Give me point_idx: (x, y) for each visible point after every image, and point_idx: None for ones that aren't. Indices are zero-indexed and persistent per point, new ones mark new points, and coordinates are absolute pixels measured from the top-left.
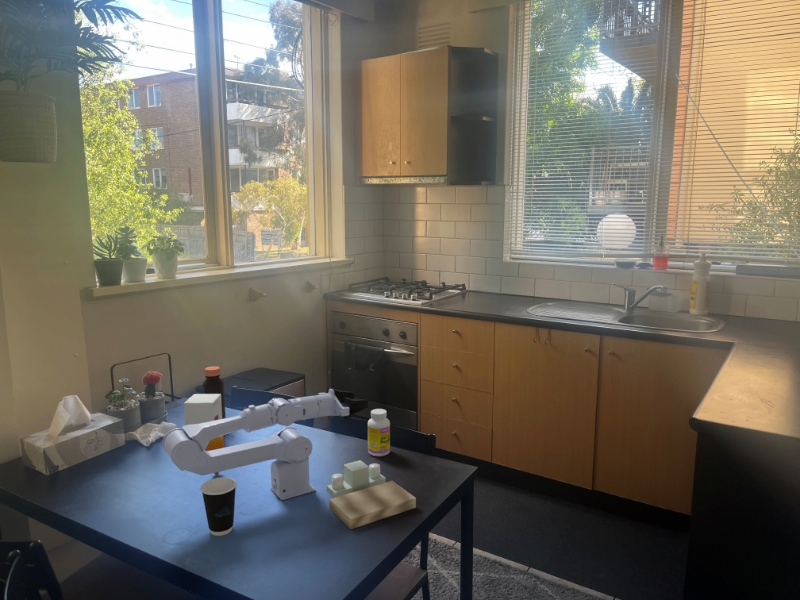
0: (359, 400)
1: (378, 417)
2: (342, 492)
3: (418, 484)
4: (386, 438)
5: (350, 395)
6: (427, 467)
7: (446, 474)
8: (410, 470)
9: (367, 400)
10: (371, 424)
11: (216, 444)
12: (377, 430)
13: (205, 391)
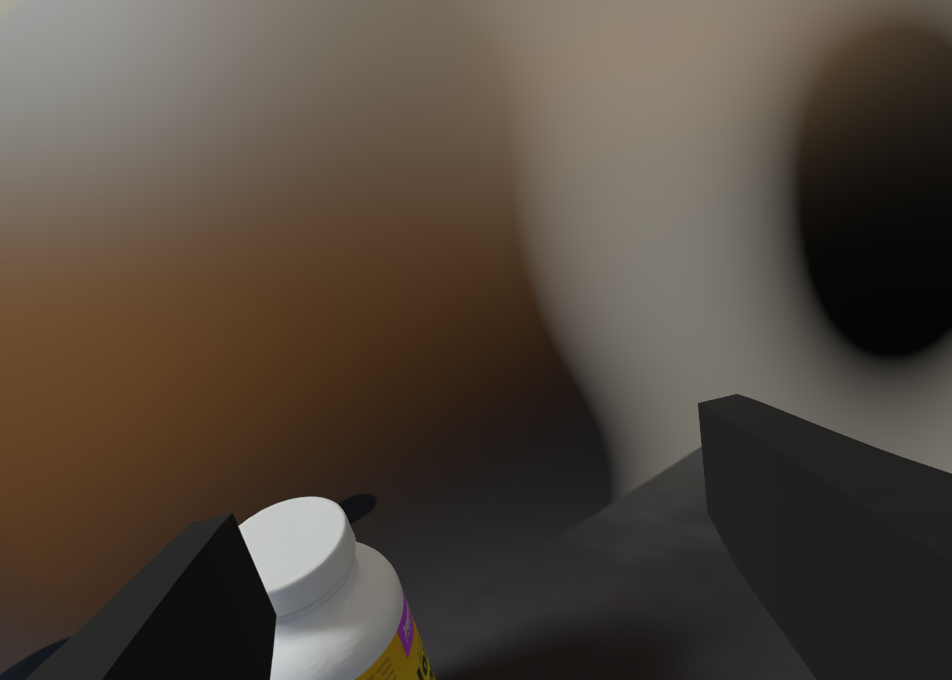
0: (899, 458)
1: (340, 574)
2: None
3: None
4: (423, 649)
5: (230, 600)
6: (694, 569)
7: None
8: (716, 658)
9: (735, 395)
10: (324, 670)
11: None
12: (388, 662)
13: None
